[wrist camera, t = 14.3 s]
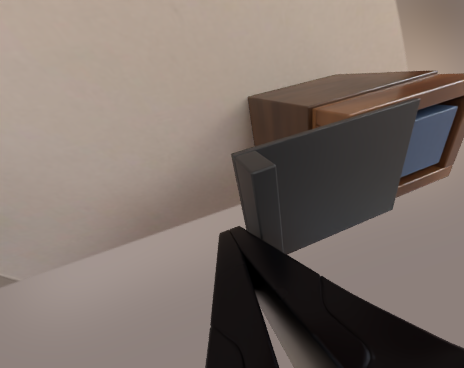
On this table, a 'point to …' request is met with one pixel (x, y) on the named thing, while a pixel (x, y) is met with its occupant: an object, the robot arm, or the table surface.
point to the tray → (430, 92)
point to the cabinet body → (313, 101)
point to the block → (428, 137)
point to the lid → (324, 177)
